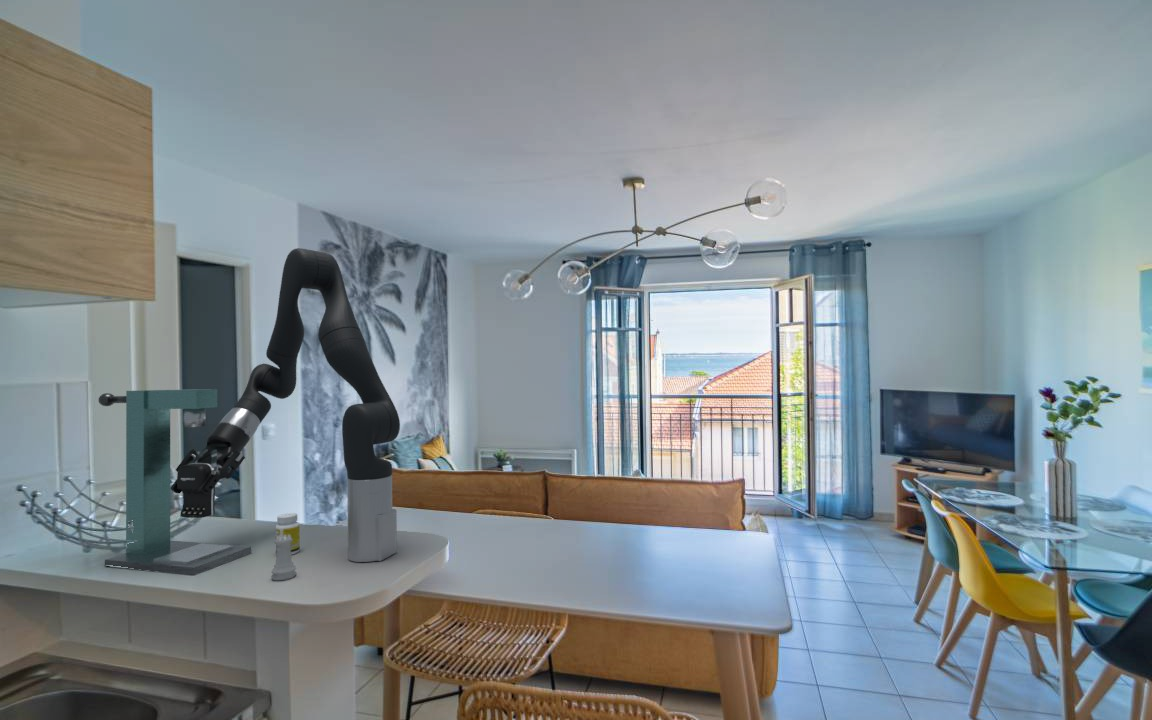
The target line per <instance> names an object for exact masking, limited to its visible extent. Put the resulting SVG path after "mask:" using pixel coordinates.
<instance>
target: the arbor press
mask: <svg viewBox="0 0 1152 720" xmlns="http://www.w3.org/2000/svg"><path fill="white" fill-rule="evenodd" d="M125 394H126V395H114V394H113V393H109V392H108V393H107V392H106V393H102V394H101V395H100V396H99V397H98V403H99V405H101V406H102V407H111V406H112V405H114V404H125V406H126V407H125V408H126V409H125V413H126V414H125V416H126V418H125V419H126V420H125V422H126V423H125V425H126V426H125V428H126V433H125V434H126V436H125V438H126V441H125V442H126V445H125V449H126V451H125V453H126V454H125V455H126V457H125V458H126V459H125V461H126V462H125V466H126V467H125V478H126V480H125V483H126V485H125V493H126V494H125V496H126V497H125V510H126V511H125V541H126V540H138V541H137V542H134V543H129V544H127V547H128V548H127V549H126V548H125V553H122V554H119V555H115V556H112V557H109V558H105V559H104V566H105V565H113V566H121V567H128V568H134V569H141V570H140V571H144V570H150V571H149V572H154V571H158V572H157V573H165V572H166V573H167V574H175V575H176V574H179V575H186V576H187V575H188V576H189V575H190V576H195V575H198V574H200V573H203V572H206V571H209V570H211V569H214V568H216V567H219V566H222V565H224V564H227V563H230V562H232V561H235V560H237V559H240V558H243V557H246V556H248V555H250V554H252V546H248V545H235V544H225V543H224V544H221V543H210V542H209V543H208V542H198V541H197V542H194V541H180V540H171V410H173V409H174V410H176V409H177V410H182V427H183V428H198V427H201V428H202V427H206V409H210V408H218V388H213V389H212V388H207V389H205V388H203V389H202V388H201V389H200V388H199V389H197V388H196V389H149V390H147V389H146V390H141V389H140V390H126V393H125ZM131 520H133V521H131ZM128 521H130V522H133V526H134V530H133V533H132V531H131V530H130V529H129V530H126V528H128V527H129V526H128ZM166 573H165V574H166Z"/></svg>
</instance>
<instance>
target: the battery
mask: <svg viewBox="0 0 1152 720" xmlns="http://www.w3.org/2000/svg"><path fill="white" fill-rule="evenodd" d="M212 469H213V468H212V466H211V464H207V463H199V462H198V463H191V464H188V465H184V466H181V467H180V468H179V470H178V472H177V477H176V480H177V489H182V492H181V493H182V497H183V499H182V500H183V503H182V508H181V512H180V517H182V518H188V519H189V518H190V519H191V518H193V519H201V518H205V517H211V516H213V515H215V514H216V511H215V503H216V502H215V495H216V494H215V493H216V485H215V486H214V488H213V489H212V491H210V492H209V494H208V495H203V494H202V493H201V492H200V491H199V488H200V486H201V485H202V484H203V482H204V481H205V480H206V478H207V477H208V476H209V475H211V470H212Z"/></svg>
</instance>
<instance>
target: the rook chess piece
mask: <svg viewBox="0 0 1152 720" xmlns="http://www.w3.org/2000/svg"><path fill="white" fill-rule="evenodd" d="M292 541H293V539H292V538H291V535H288V537H286V535H284V537H282V535H280V536H278V537H276V536H275V541H274V542H273V543H274V544H275V546H276V545H277V549H276V548H275V552H276V551H277V555H276V559H275V564H274V566H273V568H272V569H271V573H272V574H271V577H270V578H271V580H273V581H278V582H281V581H287V580H291V579H293V578H294V577H295V576H296V575H297V571H296V570H297V566H296V565H295V564H294V563H295V562H293V558H292V555H291V548H292V547H291V546H290V544H291V542H292Z"/></svg>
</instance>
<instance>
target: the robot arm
mask: <svg viewBox="0 0 1152 720" xmlns="http://www.w3.org/2000/svg"><path fill="white" fill-rule="evenodd" d="M281 274H282V275H281V280H280V281H281V284H280V287H279V295H278V302H277V303H278V304H277V311H276V318H275V323H274V326H273V327H274V328H273V330H272V333H271V336H270V340H269V343H268V345H267V349H266V353H265V354H266V358H267V359H268V360H269V361H270V362H272V363H273V364H275V365H276V366H277V367H276V366H275V365H271V364H268V363H260V364H258V365H256V366H255V367H254V368H253V369H252V370H251V373H250V376H249V379H248V382H247V384H246V387H245V389H244V390H243V393H242V395H241V396H240V398H239V400H238V401H237V402H236V403H235V405H234V406H233V407H232V408H231V409H230V411H228V412H227V413H226V414H225V415H224V417H222V419H221V420H220V422H218V423H217V425H216V427H214V429H213V430H212V431H211V433H210V434H209V435H208V436H207V437H206V446H205V447H204V448H203V449H202V450H200V451H196V450H195V449H194V448H192V449H191V450H189V451H188V453H187V454H186V456H184V458H183V459H182V460H181V462H180V463H179V465H177V467H176V469H175V471H176V472H177V473H178V470H179V468H180V467H181V466H184V465H188V464H191V463H207V464H211V466H212V468H213V469H212V470H211V475H209V476H208V477H207V478H206V480H205V481H204V482H203V484H202V485H201V486H200V488H199V491H200V492H201V493H202V494H203V495H208V494H209V492H210V491H212V489H213V488H214V486H215V487H216V485H217V484H218V483H219V481H222V480H223V479H227V480H228V479H230V478H231V477H232V475H234V473H235V472H236V470H237V469H238V468H239V467H240V465H241V464H242V463H243V461H244V460H245V459H246V457H245V456H244V454H243V453H242V451H243V450H244V448H245V447H246V446H247V444H248V443H249V442H250V440H251V439H252V438H253V436H254V435H255V433H256V432H257V430H258V428H259V426H260V424H261V423H262V422H263V421H264V419H265V418H266V417H267V415H268V414H269V412H270V410H271V409H272V404H271V401H270V400H269V399H268V398H267V397H266V396H265V395H263V394H262V393H264V394H267V395H269V396H271V397H273V398H277V399H280V400H281V399H282V400H283V399H287V398H289V397H290V396H291V395H292V394H293V393H294V391H295V389H296V386H297V365H298V364H297V363H298V357H299V353H300V350H301V347H302V344H303V342H304V337H305V327H304V323H303V320H302V317H301V314H300V310H299V304H298V303H299V297H300V294H301V292H302V289H307V290H308V289H309V290H318V291H319V292H320V294H321V296H322V298H323V302H324V305H325V311H324V313H323V316H322V318H321V322H320V325H319V328H318V333H317V334H318V340H319V344H320V346H321V349H322V352H323V355H324V357H325V360H326V361H327V363H328V364H329V366H330V367H331V368H332V369H333V370H334V371H335V373H337V374H338V375H339V376H340V377H341V378H342V379H343V380H344V381H346V382H347V383H348V384H349V385H350V386H351V387H352V388H353V390H355V392H356V393H357V394H358V397H359V398H360V400H361V403H354V404H352V405H349V406H348V407H347V409H346V410H345V411H344V413H343V416H342V423H341V424H342V425H341V434H342V448H343V450H342V451H343V462H344V466H345V469H346V475H347V478H346V479H347V480H346V481H347V491H346V492H347V494H346V495H347V558H348V560H349V561H351V562H355V563H356V562H357V563H366V562H369V563H370V562H375V561H376V562H377V561H378V562H382V561H384V560H385V559H387V558H389V557H390V556H393V555H394V554H396V553H398V532H397V529H398V527H397V526H398V525H397V524H398V520H397V518H398V517H397V509H395V508H393V465H392V464H393V463H392V462H390V461H389V460H387V459H382V458H380V457H378V456H377V455H376V453H375V445H381V444H387V443H389V442H390V443H391V442H393V441H394V440H395V439H397V438H398V436H399V434H400V429H401V423H400V422H401V420H400V417H399V413H398V410H397V409H396V406H395V403H394V402H393V400H392V399H391V397H390V394H389V393H388V390H387V389H386V388H385V385H384V383H383V381H382V380H381V378H380V375H379V373H378V371H377V368H376V365H374V361H373V360H372V357H371V355H370V352H369V349H368V347H367V346H368V345H367V344H366V340H365V338H364V335H363V333H362V331H361V328H360V326H359V324H358V322H357V319H356V317H355V314H354V311H353V308H352V306H351V303H350V301H349V300H350V299H349V297H348V293H347V290H346V287H345V283H344V279H343V275H342V272H341V268H340V266H339V263H338V260H337V259H336V257H334V256H333V255H332V254H330V253H327V252H324V251H323V252H322V251H319V250H318V251H317V250H313V249H307V248H300V247H299V248H294V249H292V250H291V251H289V253H288V255H287V256H286V259H285V260H284V265H283V269H282V273H281ZM260 392H262V393H260ZM228 469H229V470H228ZM170 491H173V493H175V494H181V493H183V492H182V489H177V479H176V480H175V481H174V482H173V483H172V485H171V486H170Z"/></svg>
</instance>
